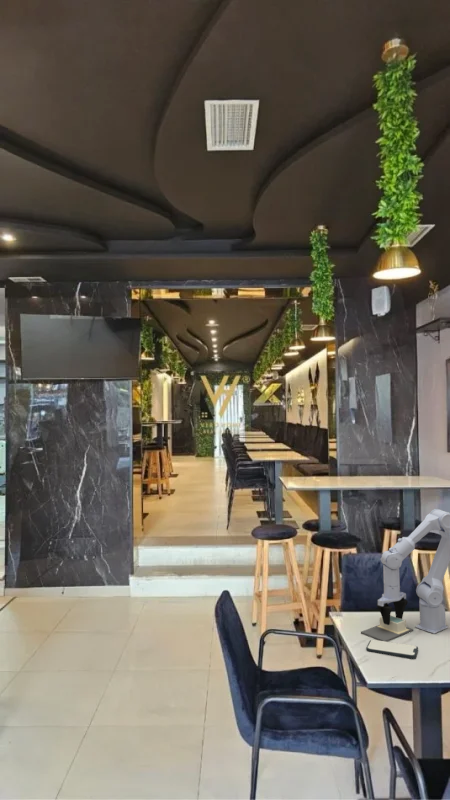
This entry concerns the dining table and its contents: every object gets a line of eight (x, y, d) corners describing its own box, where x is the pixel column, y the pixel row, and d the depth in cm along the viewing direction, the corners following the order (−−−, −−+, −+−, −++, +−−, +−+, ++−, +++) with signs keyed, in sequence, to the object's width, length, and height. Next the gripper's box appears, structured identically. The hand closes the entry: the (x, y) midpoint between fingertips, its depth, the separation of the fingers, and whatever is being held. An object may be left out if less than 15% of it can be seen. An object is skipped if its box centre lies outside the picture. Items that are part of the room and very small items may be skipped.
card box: (406, 629, 191) (405, 620, 192) (397, 632, 189) (397, 623, 189) (388, 623, 198) (387, 614, 198) (379, 626, 195) (379, 617, 195)
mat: (389, 622, 200) (389, 620, 200) (413, 630, 192) (413, 628, 192) (360, 633, 190) (360, 631, 190) (384, 642, 182) (384, 640, 182)
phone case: (365, 653, 175) (415, 661, 168) (365, 648, 175) (415, 656, 168) (370, 643, 183) (418, 650, 176) (370, 638, 183) (418, 645, 176)
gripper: (394, 578, 201) (395, 614, 201) (370, 585, 193) (371, 622, 192) (410, 582, 196) (411, 619, 195) (386, 590, 187) (387, 628, 187)
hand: (392, 621), depth 193 cm, fingers open, 7 cm apart
